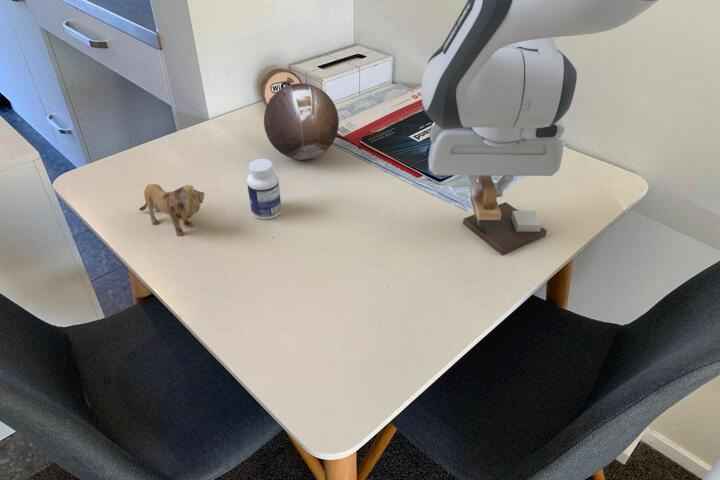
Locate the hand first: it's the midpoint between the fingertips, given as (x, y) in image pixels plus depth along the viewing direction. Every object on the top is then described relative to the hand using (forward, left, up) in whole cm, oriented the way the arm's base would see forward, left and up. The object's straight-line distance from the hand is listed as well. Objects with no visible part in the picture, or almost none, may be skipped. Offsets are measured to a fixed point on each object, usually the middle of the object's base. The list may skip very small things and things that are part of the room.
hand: (486, 194), depth 86 cm
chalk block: (-4, -6, -6) cm, 10 cm away
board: (-2, -3, -7) cm, 8 cm away
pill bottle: (+24, +30, -7) cm, 39 cm away
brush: (0, 0, -4) cm, 4 cm away
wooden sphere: (+39, +15, -7) cm, 42 cm away
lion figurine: (+29, +45, -7) cm, 54 cm away
